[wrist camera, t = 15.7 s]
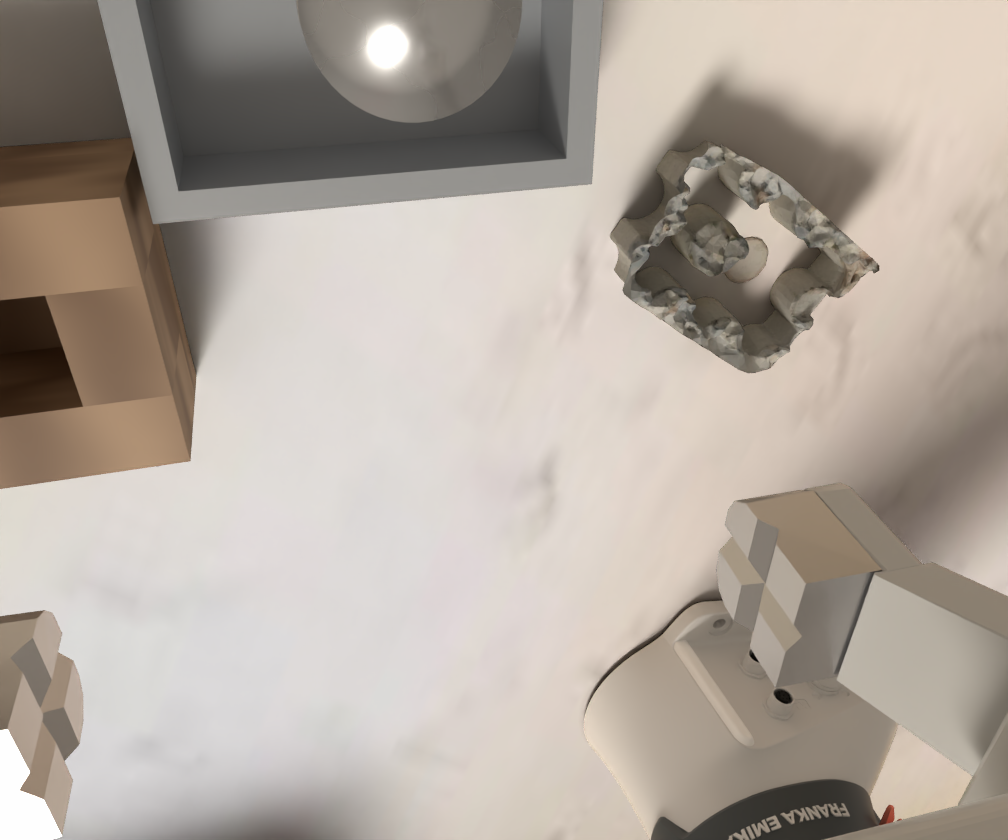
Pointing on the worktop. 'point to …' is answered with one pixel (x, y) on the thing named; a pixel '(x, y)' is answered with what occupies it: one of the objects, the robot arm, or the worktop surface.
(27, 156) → the socket block
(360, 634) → the worktop surface
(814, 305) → the egg carton
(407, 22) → the steel pin
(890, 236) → the worktop surface
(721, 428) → the worktop surface
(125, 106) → the grey tray
